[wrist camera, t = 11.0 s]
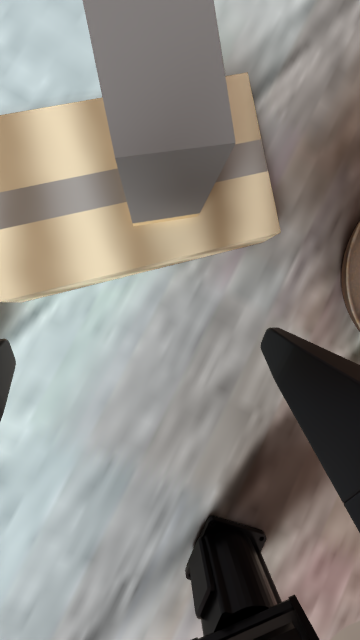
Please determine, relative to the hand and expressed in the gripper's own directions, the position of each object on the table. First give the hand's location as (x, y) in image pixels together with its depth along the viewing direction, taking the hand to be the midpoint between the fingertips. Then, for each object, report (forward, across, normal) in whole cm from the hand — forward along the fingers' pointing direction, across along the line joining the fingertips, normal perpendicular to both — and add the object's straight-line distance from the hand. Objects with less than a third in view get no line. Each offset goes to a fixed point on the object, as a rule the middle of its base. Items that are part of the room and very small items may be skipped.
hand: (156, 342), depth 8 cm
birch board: (+16, 0, -2) cm, 16 cm away
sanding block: (+13, -2, -4) cm, 14 cm away
